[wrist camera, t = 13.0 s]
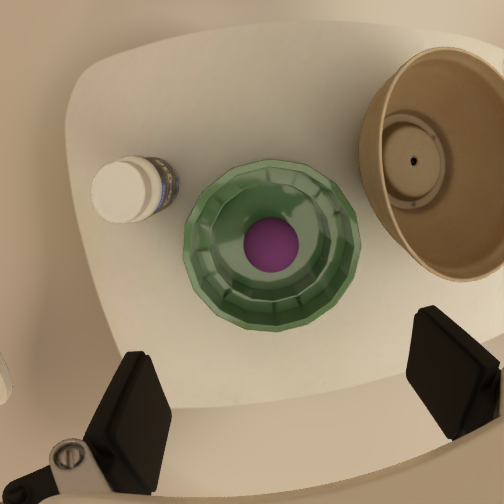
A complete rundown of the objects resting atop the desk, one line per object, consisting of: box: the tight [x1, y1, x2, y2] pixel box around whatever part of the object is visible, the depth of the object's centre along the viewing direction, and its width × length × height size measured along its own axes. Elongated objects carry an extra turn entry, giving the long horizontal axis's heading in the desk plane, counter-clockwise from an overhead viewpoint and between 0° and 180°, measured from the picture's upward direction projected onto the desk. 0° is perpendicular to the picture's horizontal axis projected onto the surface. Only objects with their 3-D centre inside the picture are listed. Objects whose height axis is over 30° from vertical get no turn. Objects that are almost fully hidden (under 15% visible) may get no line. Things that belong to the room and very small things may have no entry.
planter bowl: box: [359, 47, 504, 282], centre depth 20 cm, size 16×16×11 cm
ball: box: [243, 217, 299, 273], centre depth 24 cm, size 4×4×4 cm
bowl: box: [183, 159, 361, 332], centre depth 25 cm, size 13×13×5 cm
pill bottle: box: [91, 156, 179, 224], centre depth 21 cm, size 5×5×8 cm
